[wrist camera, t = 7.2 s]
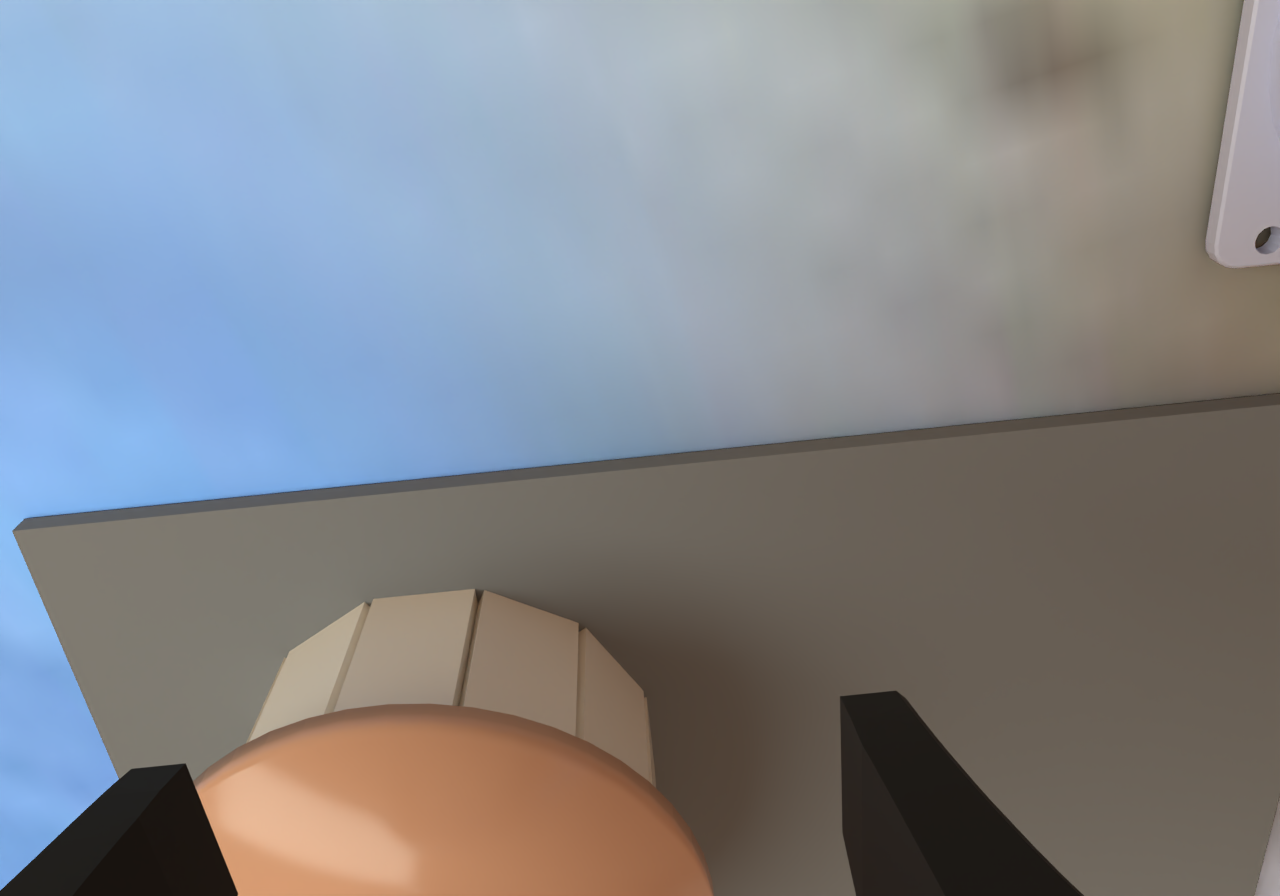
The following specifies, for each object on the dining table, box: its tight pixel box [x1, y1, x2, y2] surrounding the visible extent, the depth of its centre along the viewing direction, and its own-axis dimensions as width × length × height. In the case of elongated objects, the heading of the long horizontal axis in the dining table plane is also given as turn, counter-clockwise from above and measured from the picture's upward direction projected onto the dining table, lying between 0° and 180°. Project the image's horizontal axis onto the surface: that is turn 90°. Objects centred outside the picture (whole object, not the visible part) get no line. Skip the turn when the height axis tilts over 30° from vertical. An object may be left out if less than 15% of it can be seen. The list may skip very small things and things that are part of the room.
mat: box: [12, 393, 1280, 896], centre depth 24 cm, size 28×17×1 cm, turn 95°
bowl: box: [246, 589, 656, 788], centre depth 22 cm, size 9×9×4 cm
